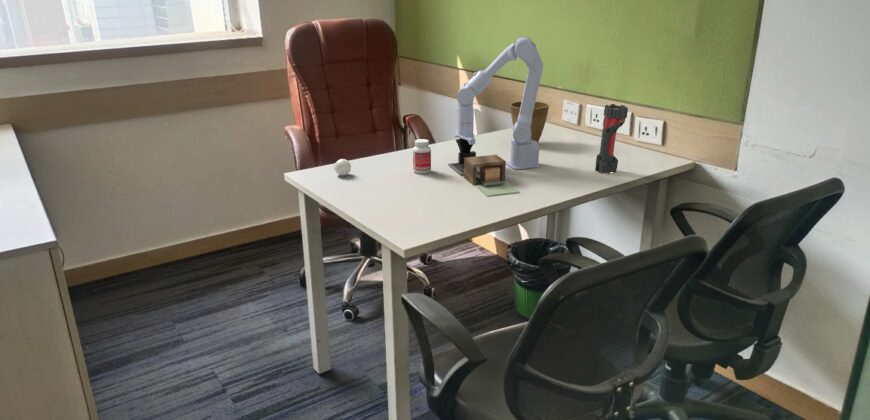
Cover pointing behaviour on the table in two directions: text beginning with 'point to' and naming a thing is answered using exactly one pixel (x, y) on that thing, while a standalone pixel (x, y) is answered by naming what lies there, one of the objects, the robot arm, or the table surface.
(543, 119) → the plant pot
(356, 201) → the table surface
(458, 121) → the robot arm
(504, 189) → the pad
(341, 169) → the white ball
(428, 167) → the pill bottle
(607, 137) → the flashlight
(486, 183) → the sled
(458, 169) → the grey flat square panel
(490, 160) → the tunnel
